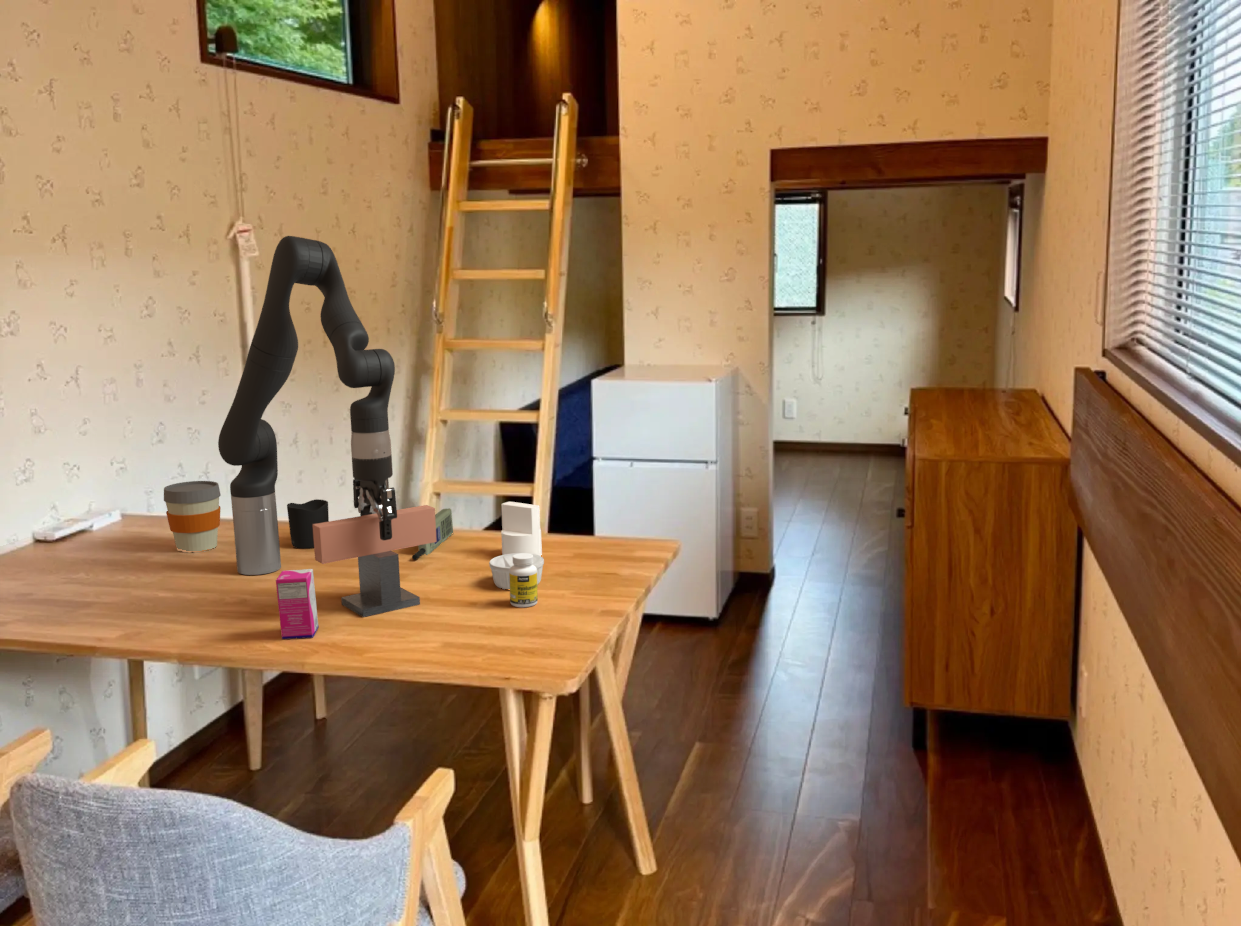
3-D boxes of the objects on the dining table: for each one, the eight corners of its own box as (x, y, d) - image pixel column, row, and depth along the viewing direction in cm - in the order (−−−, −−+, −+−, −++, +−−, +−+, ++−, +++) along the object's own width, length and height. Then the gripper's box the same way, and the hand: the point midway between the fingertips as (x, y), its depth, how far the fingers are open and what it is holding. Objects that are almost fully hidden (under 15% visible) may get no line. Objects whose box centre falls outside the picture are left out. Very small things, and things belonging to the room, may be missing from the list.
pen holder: (300, 538, 268) (297, 498, 266) (337, 539, 267) (334, 499, 265) (283, 549, 259) (280, 508, 257) (321, 550, 258) (318, 508, 256)
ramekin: (479, 585, 229) (478, 560, 228) (519, 573, 237) (518, 549, 236) (515, 596, 222) (514, 570, 221) (555, 583, 230) (554, 558, 229)
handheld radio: (455, 534, 271) (422, 563, 247) (442, 534, 271) (408, 563, 247) (453, 508, 270) (419, 534, 245) (440, 508, 270) (405, 534, 246)
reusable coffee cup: (213, 554, 255) (207, 491, 252) (159, 555, 256) (153, 492, 253) (232, 540, 268) (227, 480, 265) (181, 541, 268) (175, 480, 265)
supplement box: (286, 629, 204) (282, 569, 202) (319, 627, 205) (314, 568, 203) (280, 639, 199) (275, 578, 196) (313, 638, 199) (308, 577, 197)
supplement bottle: (516, 609, 213) (514, 561, 211) (506, 602, 218) (504, 554, 216) (542, 605, 215) (540, 557, 213) (531, 597, 220) (529, 550, 218)
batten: (315, 560, 210) (312, 524, 208) (428, 538, 224) (426, 504, 222) (322, 563, 207) (319, 527, 205) (436, 541, 221) (434, 507, 220)
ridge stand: (341, 604, 218) (338, 550, 216) (397, 592, 225) (394, 540, 223) (363, 617, 210) (359, 561, 208) (419, 604, 217) (417, 550, 215)
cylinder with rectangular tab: (549, 554, 251) (548, 503, 249) (526, 564, 244) (524, 511, 241) (518, 549, 256) (516, 498, 254) (494, 558, 248) (492, 506, 246)
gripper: (406, 456, 208) (410, 539, 211) (373, 446, 219) (378, 525, 223) (369, 461, 204) (374, 546, 207) (337, 451, 215) (343, 531, 218)
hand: (376, 535), depth 215 cm, fingers open, 8 cm apart
